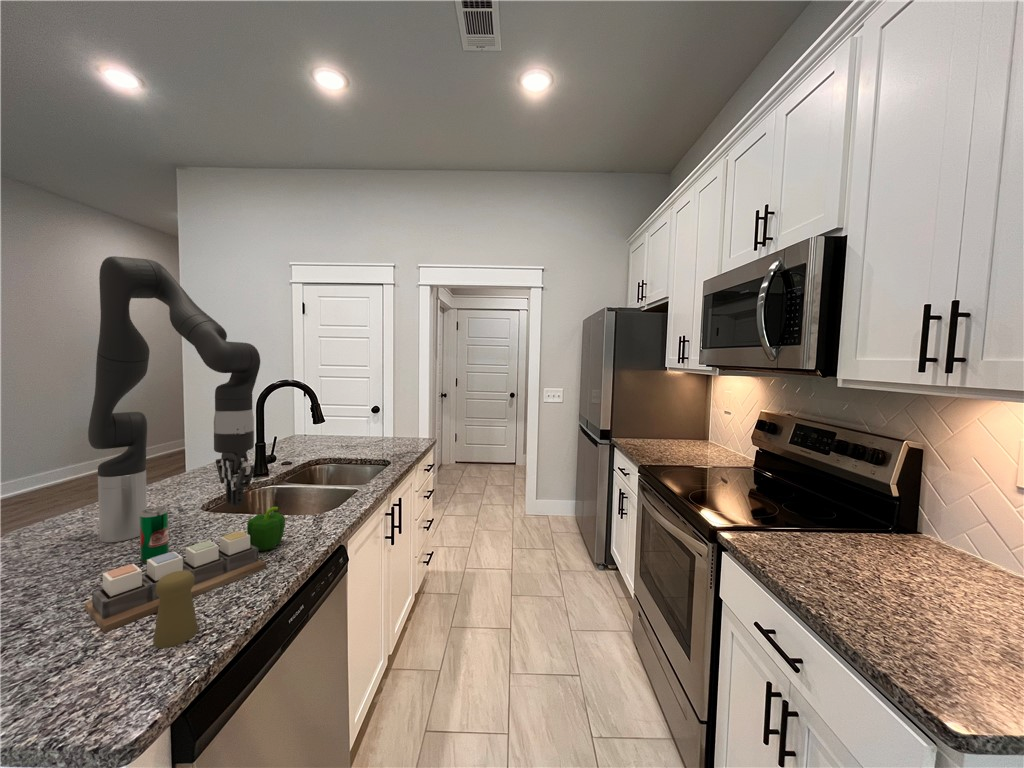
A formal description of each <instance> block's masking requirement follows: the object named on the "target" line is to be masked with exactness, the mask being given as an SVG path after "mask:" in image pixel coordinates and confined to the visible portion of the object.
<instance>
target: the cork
mask: <svg viewBox="0 0 1024 768" xmlns="http://www.w3.org/2000/svg"><path fill="white" fill-rule="evenodd" d="M194 582H195V578H194V575H193V574H192V573H191V572H190V571H185V570H182V571H175V572H172V573H169V574H167V575H165V576H163V577H162V578H161V579H159V581H158V582H157V584H156V587H155V592H156V594H157V596H158V597H159V598H160V601H159V607H158V612H157V614H156V621H155V622H156V623H155V628H154V632H153V633H154V634H153V640H152V645H153V647H155V648H157V649H166V648H172V647H176V646H179V645H181V644H183V643H185V642H187V641H189V640H191V639H192V638H194V637H195V636H196V634H197V633H198V631H199V625H198V622H197V621H198V620H197V615H196V610H195V604H194V600H193V598H192V594H191V589H192V587H193V585H194Z"/></svg>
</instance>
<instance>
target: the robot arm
mask: <svg viewBox="0 0 1024 768" xmlns="http://www.w3.org/2000/svg"><path fill="white" fill-rule="evenodd" d="M98 275H99V277H98V280H99V305H100V307H99V309H100V321H99V322H100V323H99V337H98V344H97V351H96V363H95V387H94V396H93V403H92V405H91V406H92V407H91V412H90V415H89V416H90V417H89V424H88V429H87V433H88V434H87V437H88V438H87V439H88V443H89V445H90V446H91V448H93V449H95V450H109V449H110V450H111V449H119V448H127V449H126V450H125V451H123V453H121V454H119V455H117V456H116V457H112V458H110V459H108V460H106V461H103V462H101V463H100V464H98V466H97V492H98V493H97V494H98V534H99V542H101V543H117V542H123V541H124V542H125V541H128V540H132V539H134V538H135V539H136V538H138V537H140V515H141V514H142V511H143V510H145V509H147V508H148V506H147V505H148V504H147V500H148V499H147V496H148V493H147V441H148V422H147V417H146V415H145V414H144V413H143V412H142V411H125V412H114V410H115V408H116V406H117V405H118V404H119V402H120V400H121V399H122V398H123V397H124V396H126V395H127V394H128V393H129V392H130V391H132V390H133V389H134V388H135V387H136V386H137V385H138V384H139V383H140V382H141V381H142V380H144V378H145V376H146V375H147V372H148V367H149V359H150V345H149V343H147V341H146V339H145V338H144V336H143V335H142V333H140V331H139V330H138V329H137V327H136V326H135V325H134V323H133V321H132V319H131V316H130V303H131V299H155V300H159V301H161V302H162V303H163V304H164V305H167V307H168V308H169V310H168V311H169V313H168V314H169V321H170V323H171V325H172V327H173V329H174V330H175V332H177V333H178V334H179V335H180V337H182V338H184V339H185V340H186V341H187V342H188V343H190V345H192V346H193V347H194V349H195V351H197V353H198V355H199V357H200V358H201V360H202V362H203V363H204V364H205V366H207V367H208V368H209V369H210V370H212V371H214V372H217V373H220V374H230V377H229V379H228V381H227V382H225V383H223V384H222V383H221V384H219V385H217V386H216V388H215V392H214V416H213V451H214V452H215V453H218V454H221V458H217V459H215V466H216V469H217V473H218V476H219V482H220V484H223V487H224V488H225V503H226V504H228V505H231V506H232V507H235V508H236V507H238V506H242V505H243V504H244V489H245V488H248V487H250V485H251V481H252V478H253V475H254V472H255V465H249V458H248V451H251V450H252V449H254V447H255V420H254V419H255V417H254V413H253V391H254V388H255V384H256V382H257V379H258V378H257V377H258V374H259V371H260V366H261V355H260V352H259V351H258V349H257V348H256V346H255V345H253V344H251V343H249V342H242V341H241V342H239V341H237V342H236V341H227V338H228V334H227V332H226V330H225V328H224V327H223V326H222V325H221V324H220V323H218V322H217V321H216V320H215V319H213V318H212V317H211V316H210V315H209V314H207V313H206V312H205V311H204V310H203V309H201V308H200V307H199V306H198V305H197V304H196V302H194V300H193V299H192V298H191V297H190V296H189V294H188V293H187V292H186V291H185V289H183V287H182V286H181V285H180V284H179V283H178V281H177V280H176V279H175V277H174V276H172V274H171V273H170V272H169V270H167V269H166V267H164V266H163V265H162V264H161V263H159V262H158V261H155V260H153V259H148V258H141V257H140V258H138V257H128V256H108V257H106V258H104V260H103V261H102V262H101V265H100V268H99V274H98Z"/></svg>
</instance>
